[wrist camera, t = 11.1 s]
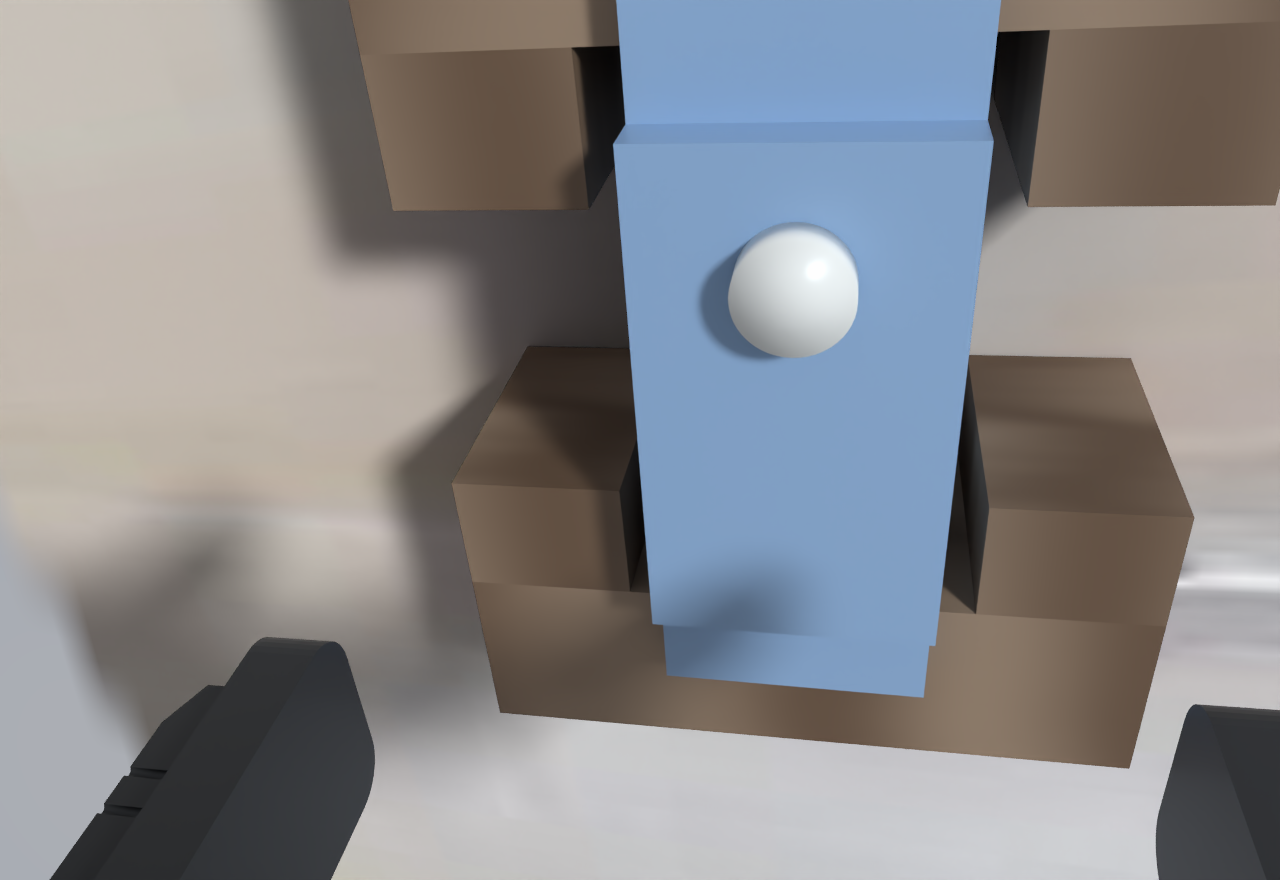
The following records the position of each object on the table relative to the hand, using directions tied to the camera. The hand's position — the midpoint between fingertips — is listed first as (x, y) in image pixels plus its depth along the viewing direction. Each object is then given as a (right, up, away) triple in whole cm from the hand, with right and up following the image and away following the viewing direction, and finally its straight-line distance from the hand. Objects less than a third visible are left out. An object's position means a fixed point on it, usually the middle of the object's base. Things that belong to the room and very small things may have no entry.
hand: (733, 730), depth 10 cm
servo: (+2, +6, +9) cm, 12 cm away
